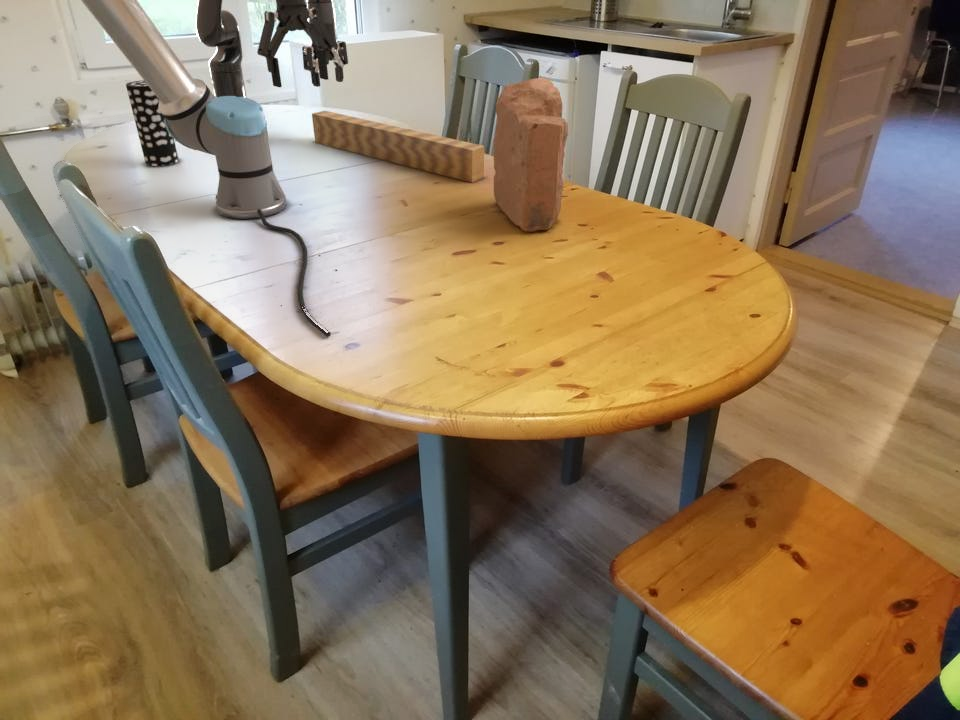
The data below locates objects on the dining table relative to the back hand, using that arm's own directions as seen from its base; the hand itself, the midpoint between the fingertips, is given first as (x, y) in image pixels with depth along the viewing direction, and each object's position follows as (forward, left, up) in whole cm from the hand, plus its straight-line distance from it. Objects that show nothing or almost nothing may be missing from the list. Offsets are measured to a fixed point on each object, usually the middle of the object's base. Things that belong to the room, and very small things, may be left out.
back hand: (328, 83), depth 195 cm
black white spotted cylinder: (-30, -36, -6) cm, 48 cm away
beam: (+23, -5, -17) cm, 29 cm away
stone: (+73, -28, -17) cm, 80 cm away
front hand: (+8, -22, +5) cm, 24 cm away
